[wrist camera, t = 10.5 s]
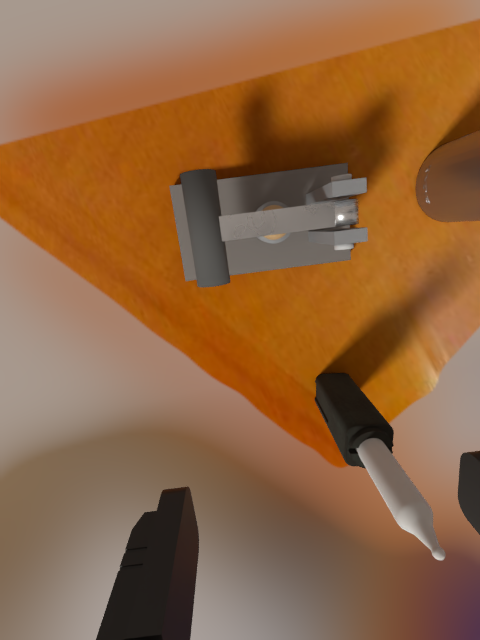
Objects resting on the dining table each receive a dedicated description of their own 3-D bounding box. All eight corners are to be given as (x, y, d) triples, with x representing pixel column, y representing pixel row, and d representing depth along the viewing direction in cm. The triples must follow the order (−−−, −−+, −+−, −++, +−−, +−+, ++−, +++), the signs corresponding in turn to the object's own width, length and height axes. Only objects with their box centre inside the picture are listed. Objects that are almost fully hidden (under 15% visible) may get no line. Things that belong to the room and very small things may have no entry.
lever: (346, 159, 31) (363, 149, 28) (349, 262, 34) (365, 265, 30) (182, 179, 31) (177, 172, 27) (199, 282, 33) (196, 288, 30)
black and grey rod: (315, 374, 46) (410, 532, 22) (351, 372, 46) (484, 528, 22) (314, 405, 47) (402, 587, 23) (348, 404, 47) (472, 583, 23)
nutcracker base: (341, 166, 39) (389, 138, 27) (345, 258, 42) (389, 268, 30) (172, 188, 39) (148, 170, 27) (187, 278, 42) (171, 296, 30)
